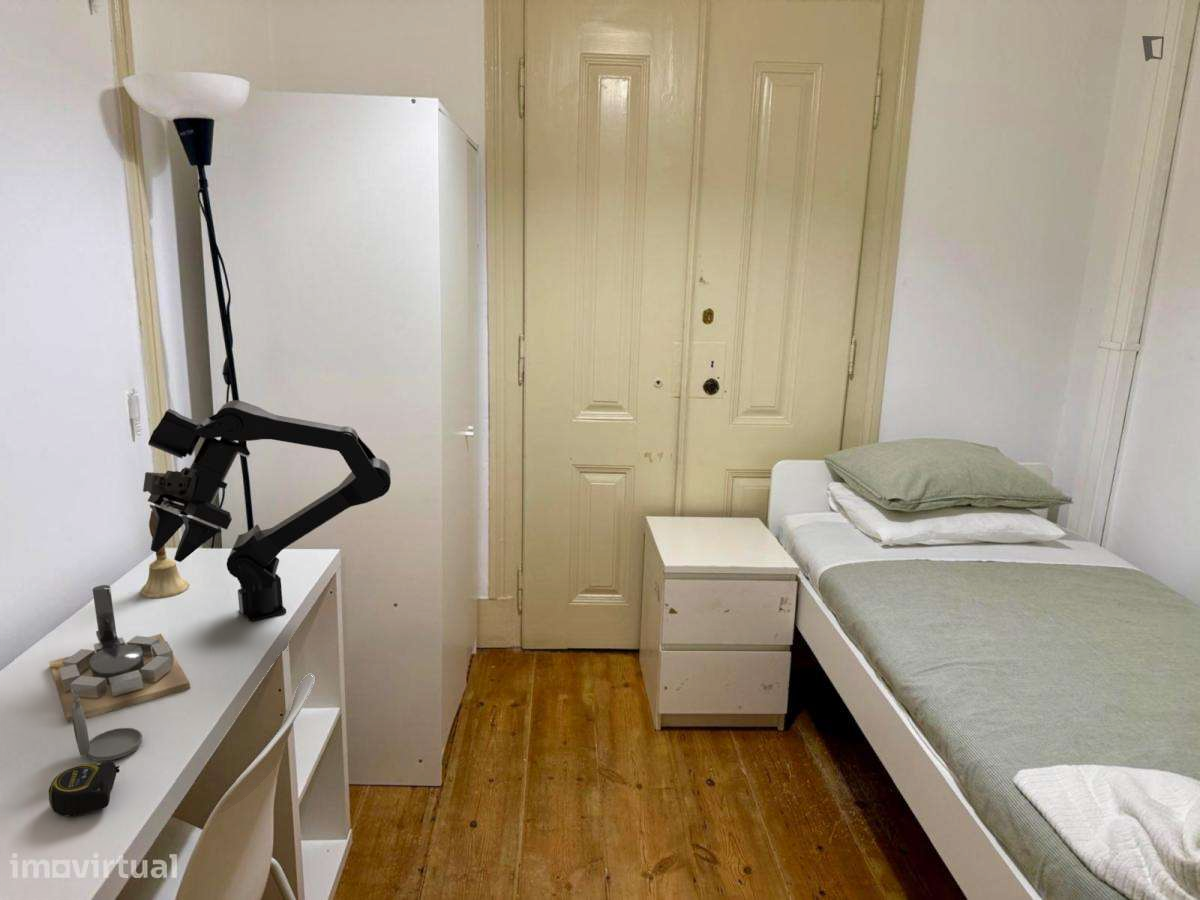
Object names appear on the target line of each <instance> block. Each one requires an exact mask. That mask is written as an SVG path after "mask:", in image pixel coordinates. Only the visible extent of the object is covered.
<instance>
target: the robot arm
mask: <svg viewBox="0 0 1200 900" xmlns="http://www.w3.org/2000/svg"><path fill="white" fill-rule="evenodd" d="M159 421H160V422H159V423H158V425H157V426H156V427H155V428H154V429H153V431H152V433H151V435H150V438H149V440H148V443H147V445H148V446H151V447H153V448H154V449H156V450H160V451H163V452H165V453H167V454H170V455H172V456H174V457H177V458H179V459H183V458H186V457H187V455H188V456H190V457H192V456H193V454H194V453H195V450H196V449H197V446H198V445H199V443H200V441H201V439H203V441H202V443H201V446H200V447H199V450H198V451H197V454H196V455H195V457H194V459H193V460H192V463H191V465H190V466H189V467H186V466H185V467H184V468H182V469H181V470H180V471H178V470H175V471H174V470H173V471H172V470H166V472H165V473H164V472H149V471H146V472H145V473H144V481H143V488H142V492H144V493H146V492H147V493H149V494H150V496H149V497H148V499H147V502H149V503H152V504H149V507H150V509H151V511H152V510H153V512H154V515H155V517H156V520H155V527H154V533H153V538H152V537H151V538H152V540H151V545H150V551H152V552H155V553H156V552H158V551H159V550H160V549H161V548H162V547H163V546H165V545H166V544H167V543H168V541H170V540H171V539H172V538H173V536H174V535H175V534H176V533H177V531H179V529H181V528H182V527H183V525H184V530H183V533H182V536H181V538H180V541H179V543H178V546H177V549H176V551H175V555H174V559H173V560H174V561H175V562H178V563H181V562H183V561H184V560H185V559H187V558H188V557H189V556H190V555H191V554H193V553H194V552H195V551H197V550H198V549H199V548H200V547H201V546H203V545H204V544H205V543H206V542H208V541H209V540H210V539H212V538H213V537H215V536H216V535H218V534H220V533H221V532H222V530H221V529H223V530H226V531H227V530H228V529H229V526H230V524H231V523H232V521H233V519H232V516H231V515H232V514H231V512H230V511H228V510H225V509H223V508H220V507H218V506H217V505H215V504H213V503H214V501H215V499H216V498H217V495H218V493H219V491H220V489H223V490H226V488H227V486H228V483H226V482H225V480H226V477H227V475H228V474H229V471H230V470H231V468H232V466H233V463H234V461H235V459H236V458H237V456H238V455H240V456H242V457H244V458H249V457H250V455H251V452H250V450H249V449H248V445H247V442H251V441H260V440H261V441H262V440H273V441H280V442H285V443H291V444H296V445H303V446H308V447H314V448H319V449H320V448H321V449H325V450H330V451H332V450H333V451H337V452H338V453H339V454H340V455H341V456H342V458H343V459H344V461H345V463H346V464H347V466H348V468H349V470H350V471H351V472H350V473H349V474H348V475H347V476H346V478H345V479H343V481H342V482H341V483H340V484H339V485H338V486H336V487H335V488H333V489H331V490H330V491H328V492H327V493H325V494H324V495H322V496H320V497H319V498H317V499H316V500H314V501H313V502H311V503H309V504H307V505H306V506H304V507H303V508H302V509H300V510H298V511H296V512H295V513H293V514H292V515H290V516H289V517H287V518H285V519H284V520H282V521H280V522H279V523H278V524H276V525H274V526H273V527H271V528H266V529H261V528H260V526H259V524H255V525H254V526H253V527H252V528H251V529H250V530H248V531H246V532H245V533H241V534H238V536H237V538H236V541H235V542H234V544H233V546H232V548H231V550H230V553H229V555H228V557H227V560H226V567H227V571H228V572H229V574H230V575H231V576H232V577H234V578H236V579H237V580H238V583H239V584H240V585H239V587H240V588H239V589H237V597H238V598H237V599H238V608H239V612H240V613H241V614H242V615H243V616H245V618H246V619H247V620H248V621H249V622H255V621H258V620H261V619H262V620H263V619H266V618H270V617H274V616H279V615H282V614H285V613H287V609H286V608H285V606H284V605H283V603H284V602H283V592H282V578H281V577H280V576H279V575H278V574H277V570H278V567H279V563H280V559H279V558H278V557H277V556H278V555H279V554H280V553H281V552H282V551H283V550H285V549H286V548H287V547H289V546H291V545H292V544H294V543H295V542H297V541H299V540H300V539H302V538H303V537H304V536H306V535H308V534H309V533H311V532H313V531H314V530H316V529H318V528H319V527H320V526H323V525H324V524H325V523H327V522H329V521H330V520H332V519H333V518H335V517H337V516H338V515H340V514H341V513H343V512H344V511H346V510H347V509H349V508H351V507H355V506H360V505H364V504H368V503H370V502H373V501H375V500H377V499H379V498H382V497H383V496H385V495H386V494H387V493H388V492H389V490H390V489H391V488H390V487H391V468H390V466H389V464H388V463H387V462H386V461H385V460H383V459H381V458H377V456H376V455H375V453H373V451H372V450H371V448H370V447H369V446H368V445H367V444H366V443H365V442H364V441H363V440H362V439H361V437H360V436H359V435H358V432H356V429H354V428H353V427H350V426H345V425H344V426H339V425H333V424H328V423H323V422H317V421H310V420H305V419H301V418H295V417H290V416H282V415H279V414H274V413H271V412H269V411H267V410H265V409H263V408H261V407H259V406H256V405H254V404H251V403H248V402H246V401H242V400H237V399H236V400H230V401H227V402H226V403H224V404H223V405H222V406H221V407H220V409H219V410H217V412H216V413H214V414H212V415H211V416H209V417H205V418H204V419H202V420H201V422H198V421H196V420H194V419H192V418H189V417H186V416H184V415H182V414H180V413H179V412H178V411H176V410H174V409H171V408H169V409H167V410H166V411H165V412H164V414H163V415H162V417H161V420H159ZM217 438H220V439H217ZM153 504H154V505H153ZM189 516H191V517H189ZM219 528H221V529H219Z"/></svg>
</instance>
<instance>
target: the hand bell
mask: <svg viewBox="0 0 1200 900" xmlns="http://www.w3.org/2000/svg"><path fill="white" fill-rule="evenodd" d="M155 520H156V517H155V515H154V512H153V510H152V509H151V511H150V517H149V522H148V527H149V532H150V535H151V538H153V533H154V527H155ZM155 556H156V559H155V560H153V561H152V562H150V564H149V567H148V568H149V569H148V577H147V581H146V582H145V584H144V585H143V586H142V588H141V589H140V594H141V596H143V597H145V598H148V599H165V598H171V597H175V596H177V595H180V594H182V593H184V592H186V591H187V590H188V589H189V587H190V583H189V582H188V581H187V580H186V579H185V578H183V577H182V576H181V574H180V572H179V570H178V567H177V563H176V560H174V559H172V558H169V557H167V556H168V555H167V551H166V547H165V545H164V546H163V547H162V548H161V549H160V550H159V551H158V552H155Z"/></svg>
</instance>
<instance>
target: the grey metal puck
mask: <svg viewBox="0 0 1200 900" xmlns="http://www.w3.org/2000/svg"><path fill="white" fill-rule="evenodd" d="M90 665H91V672H92V677H99V678H106V681H107V685H109V679H108V678H110V677H114V676H118V675H121V674H125V673H129V672H133V671H136V670H139V672H140V674H141V670H140V669H141V668H142V667H144V660H143V652H142V649H141V647H139V646H137V645H131V644H124V645H116V646H112V647H108V648H105V649H103V650H100V651H98V652H97V653H95V654H94V655H93V656H92V657H91V658H90Z"/></svg>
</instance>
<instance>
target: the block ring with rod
mask: <svg viewBox="0 0 1200 900" xmlns="http://www.w3.org/2000/svg"><path fill="white" fill-rule="evenodd" d="M92 596H93V604H94V611H95V617H96V623H97V624H96V625H97V630H96V631H95V634H96V638H97V640H98V642H97V643H93V647H94V649H83V648H82V649H79V650H78V651H77V652H75V653H74V654H73V655H70V656H71V657H69V656H68V657H69V658H68V659H66V660H65V661H63V666H64V667H62V668H59V674H60V680H61V683H62V686H63V689H64V692H66V691H70V690H71V689H73V691H74V692H75V694H76V695H78V696H79V697H89V698H99V697H100V696H101V695H102V694H104V693H105V692H106V691H108V688H107V681H106V678H99V677H88V676H80V673H81V672H83V671H84V670H86V669H87V668H88V667H90V666H91V665H90V658H91V657H92V656H93V655H94V654H95V653H97V652H98V651H100V650H103V649H105V648H108V647H112V646H116V645H124V644H125V643H126V642H125V639H124V637H118V635H117V629H116V627H117V626H116V621H115V612H114V606H113V605H114V604H113V598H112V590H111V586H110V585H108V584H103V585H102V584H101V585H98V586H94V587H93V588H92ZM127 644H131V645H137V646H139V647H141V649H142V652H143V655H148V656H152V655H153V657H154V659H152V660H151V661H150V662H149V663H147V664H146V665H145V666H144V667H142V668H141V669H140V670H141V674H140V672H139V670H136V671H133V672H129V673H125V674H121V675H118V676H114V677H110V678H108V679H109V687H110V691H111V694H112V696H117V695H121V694H124V693H128V692H131V691H135V690H138V689H142V688H143V683H142V681H147V682H156V681H158V680H159V679H160V678H161V677H162V676H164V675H165V674H166V673H167V672H168V671H170V670H171V669H172V668H171V663H174V658H173V655H174V652H173V651H174V650H172V647H171V646H170V644H169V643H168V641H167V640H165V642H161V643H160V642H159V638H154V637H150V636H143V635H141V636H140V635H135V636H134V637H132V638H130V640H128V641H127ZM94 650H95V651H94ZM72 696H73V695H72Z"/></svg>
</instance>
